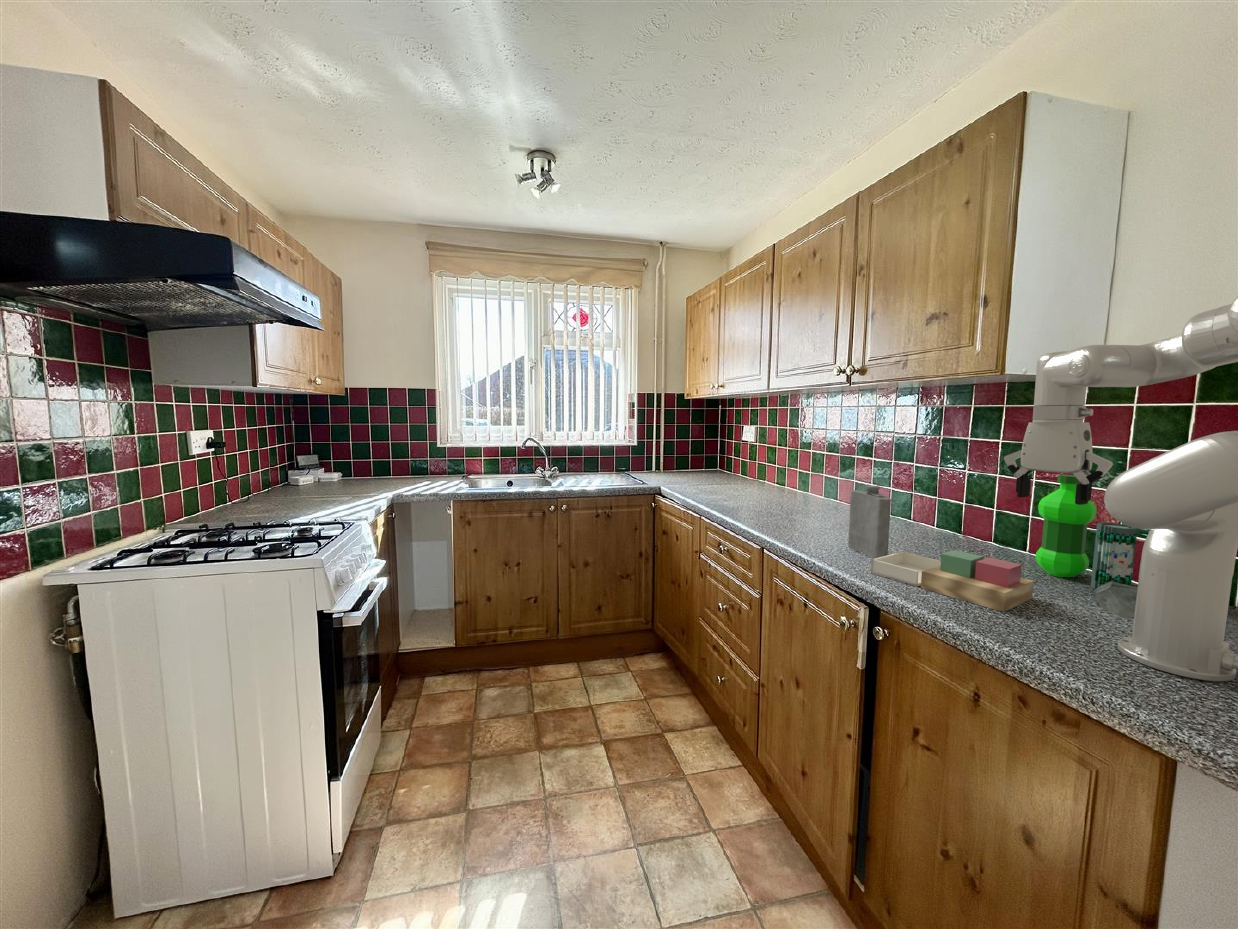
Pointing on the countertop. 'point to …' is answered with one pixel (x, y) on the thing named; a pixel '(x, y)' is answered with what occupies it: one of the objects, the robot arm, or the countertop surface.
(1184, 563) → the robot arm
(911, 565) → the tray
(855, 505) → the hip flask
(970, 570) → the green block
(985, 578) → the pink toy cube
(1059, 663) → the countertop surface
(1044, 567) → the plastic bottle
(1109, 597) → the stone
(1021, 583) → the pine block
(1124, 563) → the green printed upright box
